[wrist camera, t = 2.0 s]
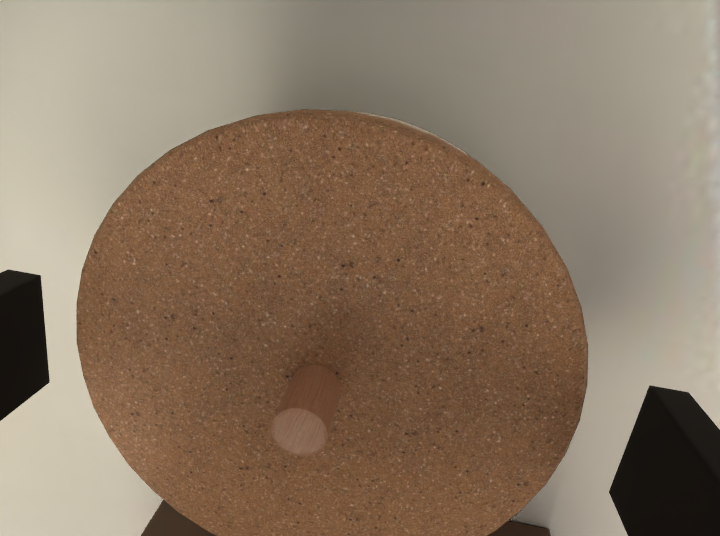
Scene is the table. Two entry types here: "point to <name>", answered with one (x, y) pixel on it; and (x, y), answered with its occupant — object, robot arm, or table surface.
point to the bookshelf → (176, 532)
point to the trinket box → (331, 332)
